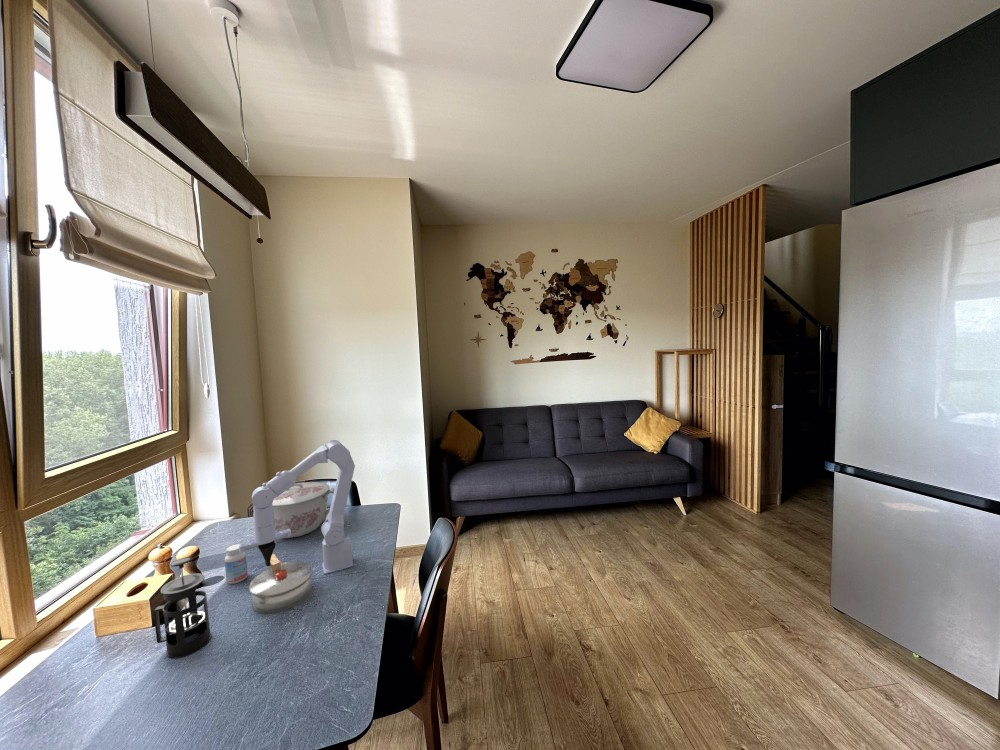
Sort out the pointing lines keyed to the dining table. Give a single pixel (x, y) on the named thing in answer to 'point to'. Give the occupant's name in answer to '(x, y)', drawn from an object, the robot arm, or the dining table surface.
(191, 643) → the french press
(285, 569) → the cooker lid
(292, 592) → the white oval dish
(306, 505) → the chamber pot
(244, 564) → the pill bottle
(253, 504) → the robot arm
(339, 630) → the dining table surface
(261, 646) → the dining table surface
